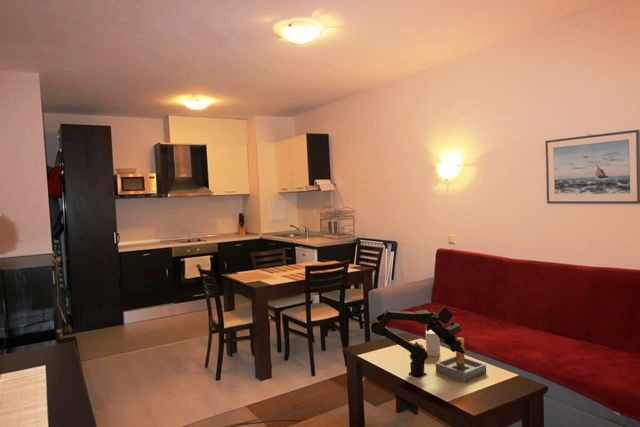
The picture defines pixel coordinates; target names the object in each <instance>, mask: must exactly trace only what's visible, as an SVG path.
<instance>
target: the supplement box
mask: <svg viewBox="0 0 640 427" xmlns="http://www.w3.org/2000/svg"><path fill="white" fill-rule="evenodd" d="M440 340H441V339H440V338H439V337H438V336H437V335H436V334H435V333H434V332H433V331H432V330H431V329H430V330H429V331H428V332H427V331H426V330H425V350H426V352H427V353H428V357H441V343H440V342H441V341H440Z"/></svg>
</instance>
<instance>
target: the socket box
mask: <svg viewBox="0 0 640 427" xmlns="http://www.w3.org/2000/svg"><path fill="white" fill-rule="evenodd" d="M464 359H465V365H464V366H458V365H456V355H454V356H452V357H449V358H447V359H446V358H445V359H443V360H440V361H438V362H437V361H436V362H435V372H436V373H438V374H440V375H443V376H446V377H447V378H450V379H453V380H455V381H458V382H460V383H463V384H466V383H468V382H469V381H472V380H474V379H477V378H479V377H481V376H484V375H486V374H487V364H486V363H483V362H479V361H476V360H474V359H472V358H471V359H470V358H468V357H465V356H464Z"/></svg>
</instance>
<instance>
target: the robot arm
mask: <svg viewBox="0 0 640 427" xmlns="http://www.w3.org/2000/svg"><path fill="white" fill-rule="evenodd" d="M454 317H455V315H454V314H453V313H452V312H451V311H450V310H449V309H447V308H446V307H445V306H442V307H441V309H440V310H439V311H438V312H437V313H436V312H430V311H429V310H427V309H422V310H417V311H405V310H404V311H403V310H401V311H400V310H390V309H386V310H385V311H384V312H383V313H381V314H379V315H377V317H375V318H373V319H371V320H370V321H369V328H370V330H371V332H372V333H373V334H375V335H378V336H380V337H385V338H387V339H388V340H390V341H391V342H393V343H395V344H396V345H398V346H399V347H402V348H403V349H405V350H406V351H408V352H409V353H410V354H409V359H410V361H411V362H410V363H409V364H410V372H408V375H410V376H412V377H414V378H416V379H419V378H422V377H425V376H427V373H426V372H425V362H426V361H427V360H428V357H429V356H428V353H427V352H426V347H425V346H424V345H423V344H420V343H419V342H418V341H415V342H414V343H413V342H410V341H409V340H407V339H406V338H404V337H403V336H402V335H401V336H400V335H399V334H397V333H396V332H394V331H393V330H391V329H389V328H388V327H387V325H388V324H389V323H390V321H391V320H395V321H408V322H409V321H410V322H417V323H419V324H422V325H425V328H424V329H425V332H426V331H427V332H428V331H429V330H432V331H433V332H434V333H435V334H436V335H437V336H438V337H439V338H440V340H442V341H443V343H444V344H445V345H447V347H448V349H449V350H450V351H451V352H452V353H456V351H457V352H460V353H463V354H464V355H465V353H466V351H465V349H464V350H463V349H462V347H461V346H460V345H461V344H462V342H461V341H460V340H459V339H457V338H458V337H456V335H457V334H458V333H462V331H463V329H462V327H461V325H460V324H459V323H458V322H454V321H452V319H453V318H454ZM448 323H449V325H448ZM443 324H445V325H446V324H447V325H448V326H444V325H443Z"/></svg>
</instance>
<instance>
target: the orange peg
mask: <svg viewBox="0 0 640 427" xmlns="http://www.w3.org/2000/svg"><path fill="white" fill-rule="evenodd" d="M456 338H457V339H459V340H460V341H461V342H462V344H461V345H460V346H461V347H462V349H463V350H464V351H465V338H464V337H456ZM455 356H456V365H458V366H464V365H465V359H464V357H465V353H464V354H463V353H460V352H457V351H455Z"/></svg>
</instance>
